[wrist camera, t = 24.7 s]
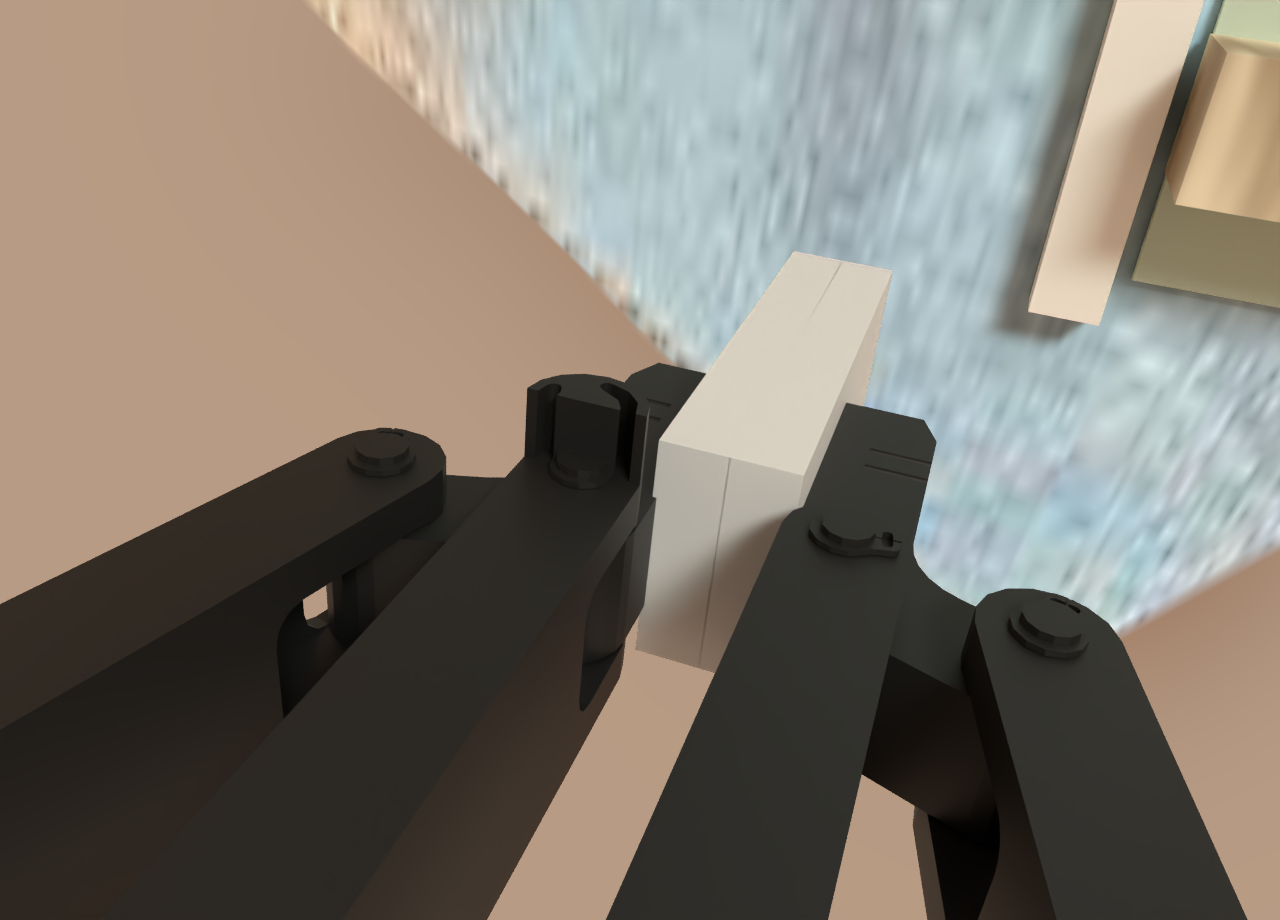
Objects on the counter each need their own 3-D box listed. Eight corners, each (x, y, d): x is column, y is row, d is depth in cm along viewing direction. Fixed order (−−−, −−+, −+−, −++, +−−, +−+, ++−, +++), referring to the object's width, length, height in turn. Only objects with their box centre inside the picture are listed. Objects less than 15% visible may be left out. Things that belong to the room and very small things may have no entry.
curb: (1029, 297, 42) (1028, 311, 40) (1147, -118, 35) (1150, -117, 33) (1097, 310, 41) (1099, 325, 40) (1232, -109, 34) (1239, -108, 33)
